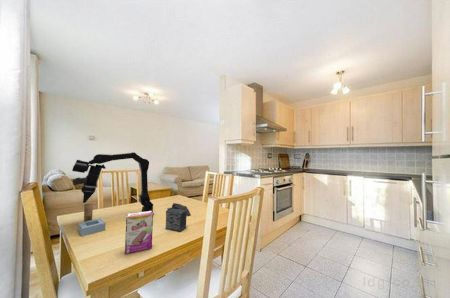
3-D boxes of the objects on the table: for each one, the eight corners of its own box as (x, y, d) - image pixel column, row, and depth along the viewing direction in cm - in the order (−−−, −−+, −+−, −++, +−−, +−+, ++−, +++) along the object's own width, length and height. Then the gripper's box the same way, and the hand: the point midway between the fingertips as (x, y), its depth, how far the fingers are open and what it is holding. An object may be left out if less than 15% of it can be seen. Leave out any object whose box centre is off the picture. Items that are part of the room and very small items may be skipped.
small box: (186, 227, 103) (187, 210, 104) (180, 232, 97) (181, 213, 97) (171, 224, 107) (172, 207, 107) (165, 229, 101) (165, 211, 101)
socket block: (100, 224, 105) (100, 218, 105) (105, 230, 98) (105, 222, 98) (78, 230, 98) (78, 223, 98) (81, 236, 91) (82, 228, 91)
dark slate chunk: (169, 219, 116) (169, 212, 117) (166, 209, 137) (167, 203, 137) (192, 216, 122) (192, 209, 123) (186, 207, 143) (186, 201, 143)
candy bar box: (124, 255, 75) (125, 217, 75) (125, 249, 79) (126, 213, 80) (152, 248, 80) (153, 213, 81) (151, 243, 85) (152, 210, 85)
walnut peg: (93, 223, 106) (94, 203, 107) (88, 226, 102) (88, 205, 103) (87, 223, 107) (88, 203, 107) (81, 226, 103) (82, 205, 103)
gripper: (78, 170, 107) (69, 195, 105) (74, 173, 92) (63, 203, 89) (100, 173, 113) (91, 197, 111) (99, 177, 98) (90, 205, 96)
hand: (84, 200), depth 102 cm, fingers open, 9 cm apart
